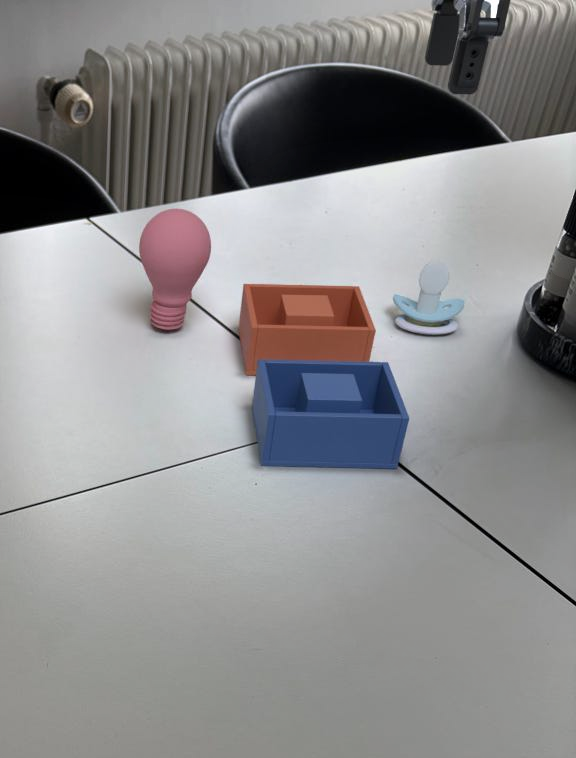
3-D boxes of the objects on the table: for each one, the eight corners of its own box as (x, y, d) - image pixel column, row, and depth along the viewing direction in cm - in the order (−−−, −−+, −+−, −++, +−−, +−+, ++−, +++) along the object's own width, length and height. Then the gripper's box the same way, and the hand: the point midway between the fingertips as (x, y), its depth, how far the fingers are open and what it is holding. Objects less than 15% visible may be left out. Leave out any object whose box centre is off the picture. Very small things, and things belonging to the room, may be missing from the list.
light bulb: (216, 324, 109) (227, 208, 101) (181, 349, 105) (190, 231, 97) (158, 306, 112) (165, 192, 104) (122, 330, 108) (126, 213, 100)
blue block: (344, 419, 94) (353, 373, 91) (352, 447, 91) (362, 400, 88) (293, 418, 94) (301, 372, 91) (300, 446, 91) (307, 399, 88)
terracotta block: (320, 338, 106) (327, 295, 103) (326, 359, 103) (334, 316, 100) (275, 337, 106) (281, 294, 103) (280, 359, 103) (286, 314, 100)
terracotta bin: (350, 332, 108) (359, 286, 105) (366, 377, 101) (376, 329, 98) (238, 329, 108) (243, 283, 105) (245, 375, 101) (251, 327, 98)
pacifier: (462, 341, 107) (457, 314, 112) (478, 284, 103) (472, 258, 107) (390, 335, 108) (387, 309, 112) (403, 278, 104) (400, 252, 108)
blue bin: (377, 411, 97) (388, 361, 93) (397, 469, 89) (409, 418, 86) (251, 408, 97) (257, 358, 93) (261, 465, 90) (268, 414, 86)
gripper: (589, -161, 69) (518, 105, 80) (528, -182, 79) (473, 56, 90) (475, -163, 69) (420, 103, 80) (430, -183, 79) (387, 54, 90)
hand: (448, 78), depth 85 cm, fingers open, 8 cm apart
